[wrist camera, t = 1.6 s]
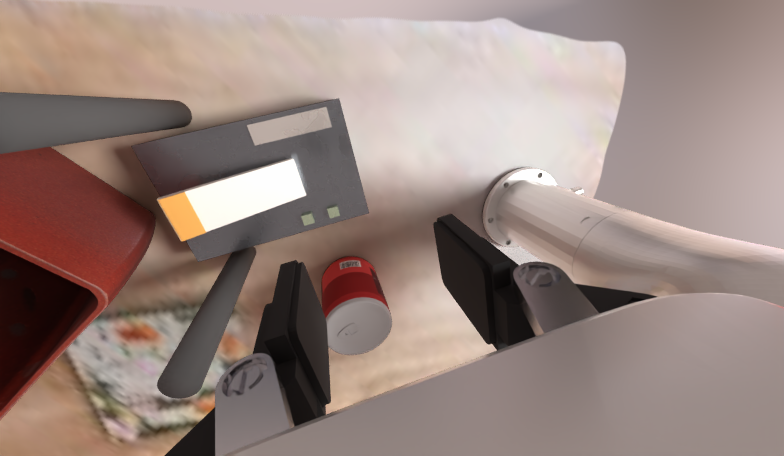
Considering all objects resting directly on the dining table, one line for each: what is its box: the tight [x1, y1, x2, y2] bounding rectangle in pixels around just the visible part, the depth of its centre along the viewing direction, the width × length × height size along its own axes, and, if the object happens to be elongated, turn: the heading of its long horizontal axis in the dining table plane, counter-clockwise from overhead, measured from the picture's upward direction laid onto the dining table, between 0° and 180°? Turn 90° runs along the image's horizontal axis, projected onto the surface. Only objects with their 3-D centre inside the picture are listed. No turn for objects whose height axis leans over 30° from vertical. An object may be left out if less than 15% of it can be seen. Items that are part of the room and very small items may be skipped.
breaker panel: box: [131, 99, 369, 262], centre depth 32 cm, size 20×13×6 cm, turn 102°
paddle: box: [157, 158, 306, 241], centre depth 28 cm, size 12×4×1 cm, turn 101°
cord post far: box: [157, 246, 256, 398], centre depth 29 cm, size 3×3×20 cm
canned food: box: [321, 257, 392, 355], centre depth 38 cm, size 8×8×11 cm
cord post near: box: [0, 92, 192, 154], centre depth 21 cm, size 3×3×20 cm
